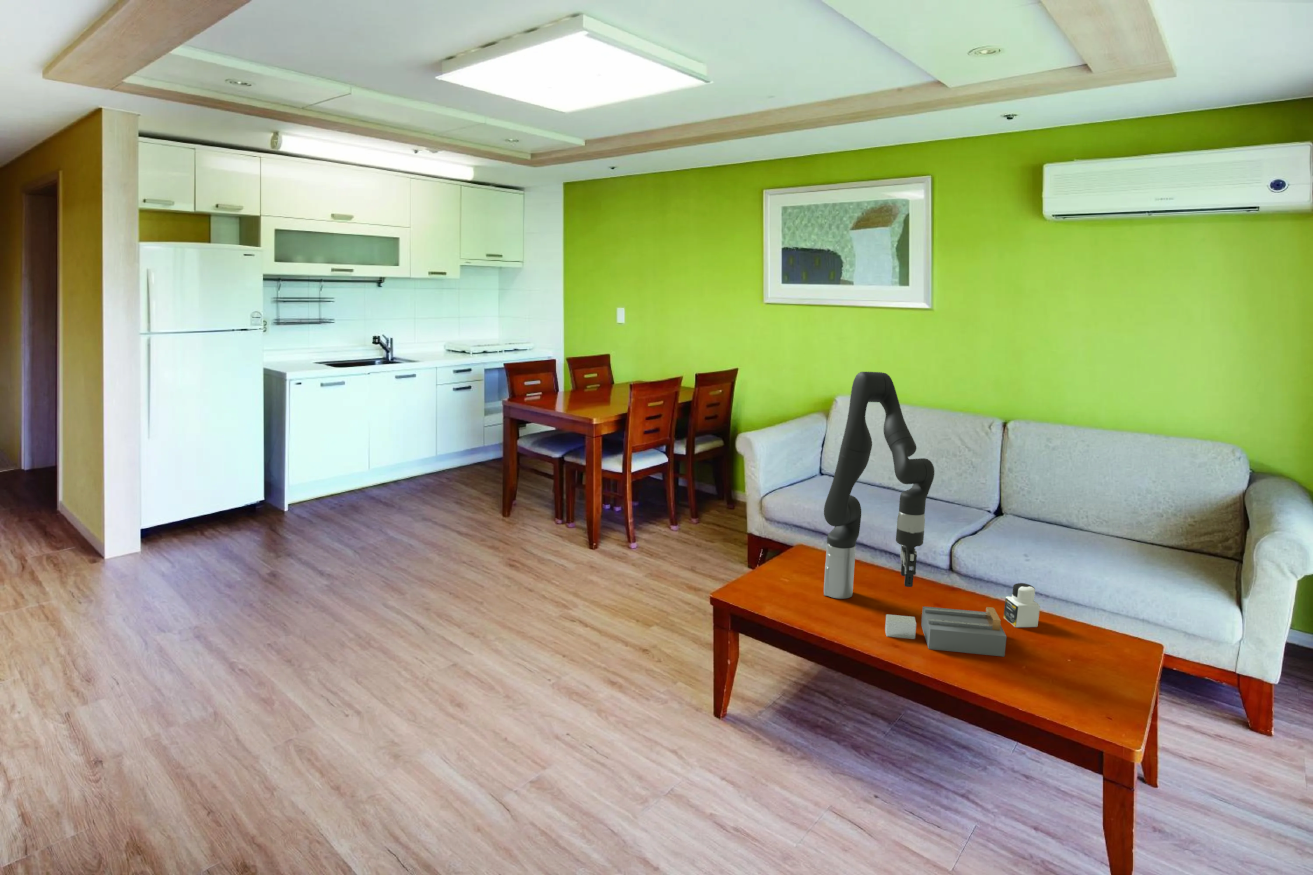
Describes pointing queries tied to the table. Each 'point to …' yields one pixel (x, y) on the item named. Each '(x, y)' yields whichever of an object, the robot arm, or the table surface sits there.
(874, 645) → the table surface
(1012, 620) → the medicine bottle
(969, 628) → the channel stand
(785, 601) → the table surface
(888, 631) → the aluminium block
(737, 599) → the table surface
